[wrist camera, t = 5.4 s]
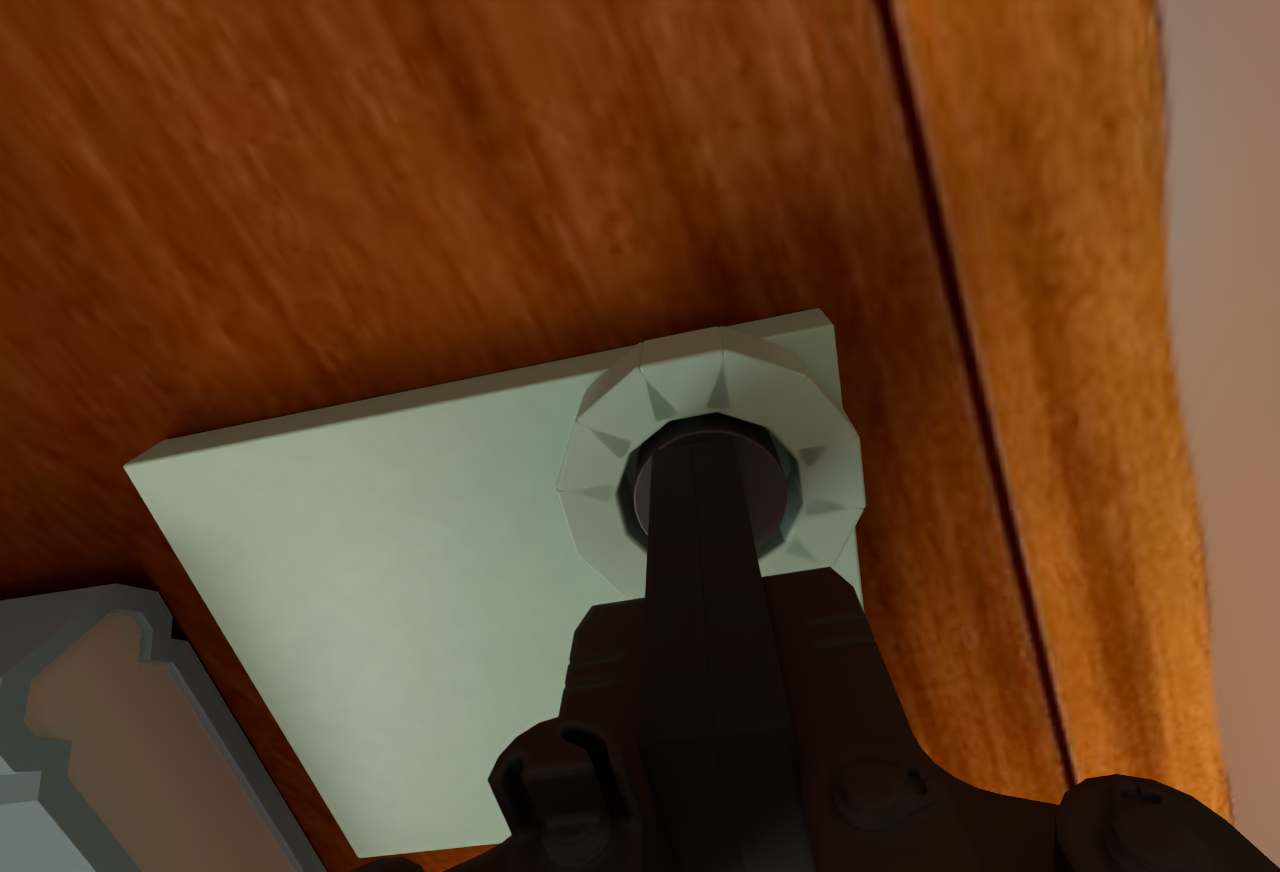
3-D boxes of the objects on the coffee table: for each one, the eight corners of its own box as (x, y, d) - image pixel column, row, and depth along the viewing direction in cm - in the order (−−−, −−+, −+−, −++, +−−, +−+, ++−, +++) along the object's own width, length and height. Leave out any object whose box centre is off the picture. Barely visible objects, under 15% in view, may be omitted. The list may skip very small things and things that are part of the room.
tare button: (767, 390, 13) (776, 416, 12) (786, 516, 15) (797, 551, 13) (622, 418, 14) (617, 446, 13) (652, 538, 15) (650, 574, 14)
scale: (817, 286, 14) (852, 323, 12) (871, 760, 20) (902, 860, 17) (154, 422, 16) (49, 482, 14) (375, 817, 22) (334, 914, 19)
